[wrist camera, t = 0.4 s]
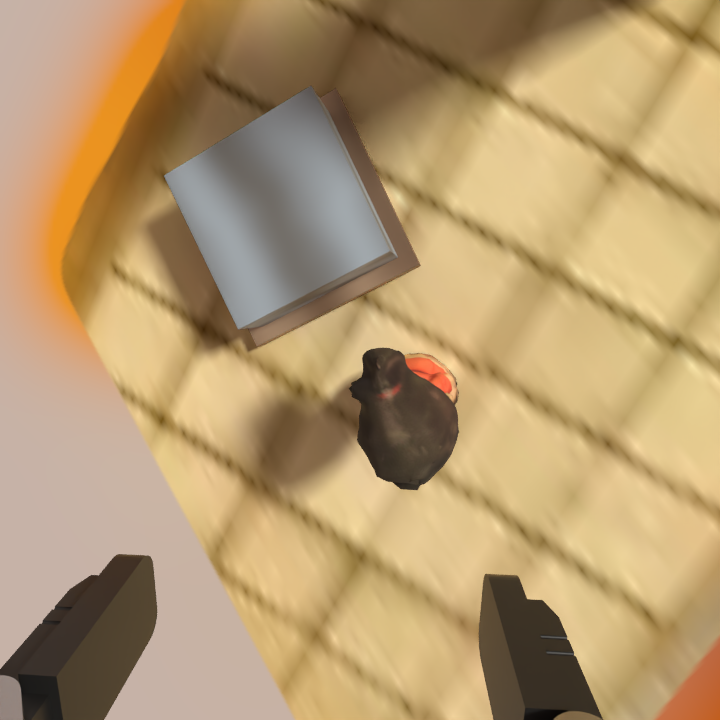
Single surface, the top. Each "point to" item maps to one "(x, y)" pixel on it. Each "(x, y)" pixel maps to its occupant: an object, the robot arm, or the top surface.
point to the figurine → (406, 415)
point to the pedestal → (291, 216)
